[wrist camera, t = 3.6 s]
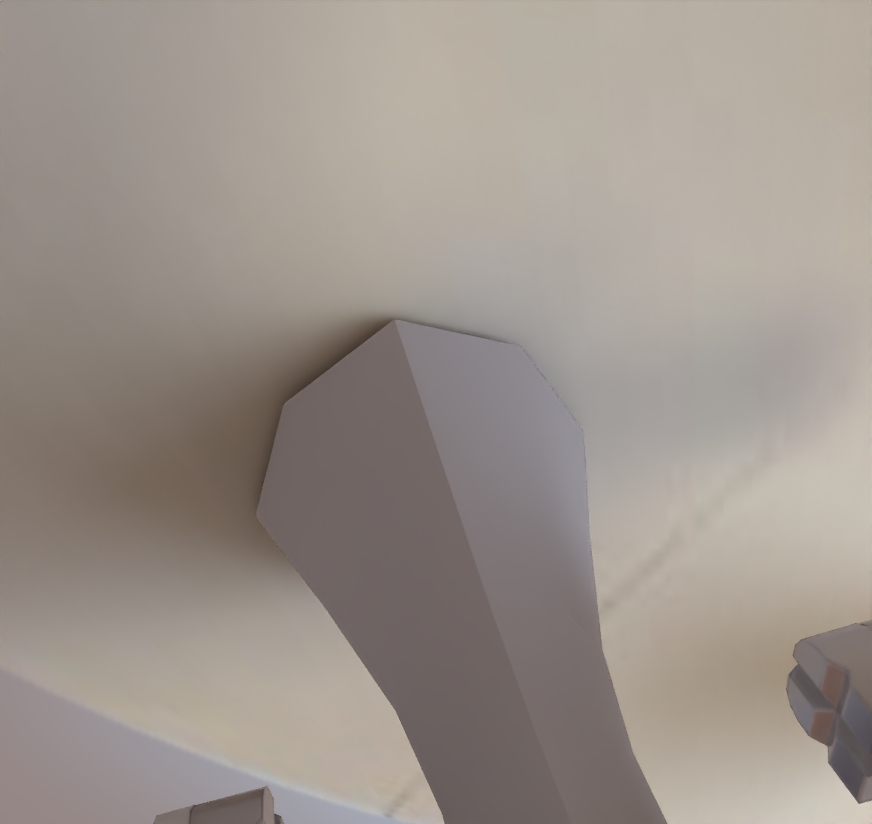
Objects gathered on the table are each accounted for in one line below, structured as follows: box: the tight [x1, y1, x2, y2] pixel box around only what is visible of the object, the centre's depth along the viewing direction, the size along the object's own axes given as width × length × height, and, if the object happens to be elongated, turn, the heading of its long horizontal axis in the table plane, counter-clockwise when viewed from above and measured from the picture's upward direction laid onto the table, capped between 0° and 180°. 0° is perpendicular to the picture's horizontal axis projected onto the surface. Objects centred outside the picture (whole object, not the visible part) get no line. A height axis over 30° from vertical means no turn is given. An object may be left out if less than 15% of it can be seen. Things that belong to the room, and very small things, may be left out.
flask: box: [256, 319, 667, 824], centre depth 13 cm, size 7×7×10 cm
